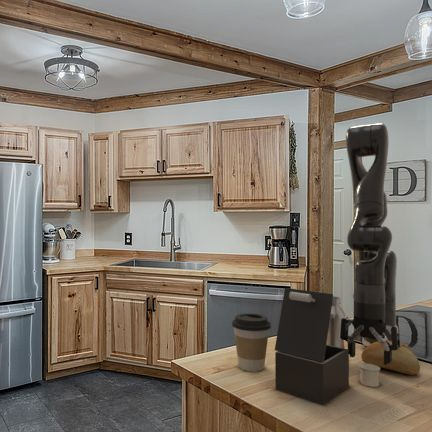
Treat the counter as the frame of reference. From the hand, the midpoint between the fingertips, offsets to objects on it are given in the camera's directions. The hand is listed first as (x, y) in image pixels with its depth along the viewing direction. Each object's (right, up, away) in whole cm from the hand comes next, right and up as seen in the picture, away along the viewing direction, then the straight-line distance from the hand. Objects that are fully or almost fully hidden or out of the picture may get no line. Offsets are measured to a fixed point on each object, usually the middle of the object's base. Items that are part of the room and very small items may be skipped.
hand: (369, 360), depth 115 cm
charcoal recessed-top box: (-16, -6, -2) cm, 17 cm away
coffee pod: (0, -6, 0) cm, 6 cm away
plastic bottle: (-3, -6, +16) cm, 17 cm away
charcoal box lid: (-20, +11, -6) cm, 23 cm away
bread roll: (+12, -6, +10) cm, 17 cm away
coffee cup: (-28, -7, +13) cm, 32 cm away
